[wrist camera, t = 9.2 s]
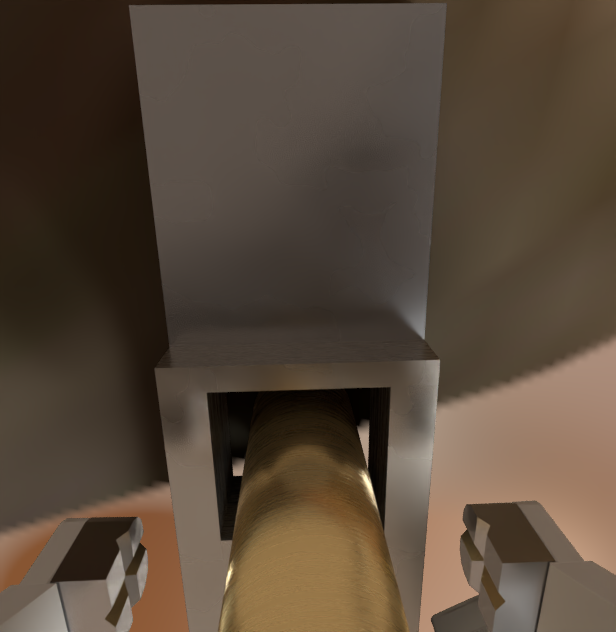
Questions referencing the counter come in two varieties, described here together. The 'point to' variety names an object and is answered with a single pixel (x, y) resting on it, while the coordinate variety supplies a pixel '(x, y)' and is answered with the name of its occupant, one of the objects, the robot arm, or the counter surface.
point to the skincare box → (460, 618)
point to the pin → (308, 525)
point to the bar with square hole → (292, 245)
